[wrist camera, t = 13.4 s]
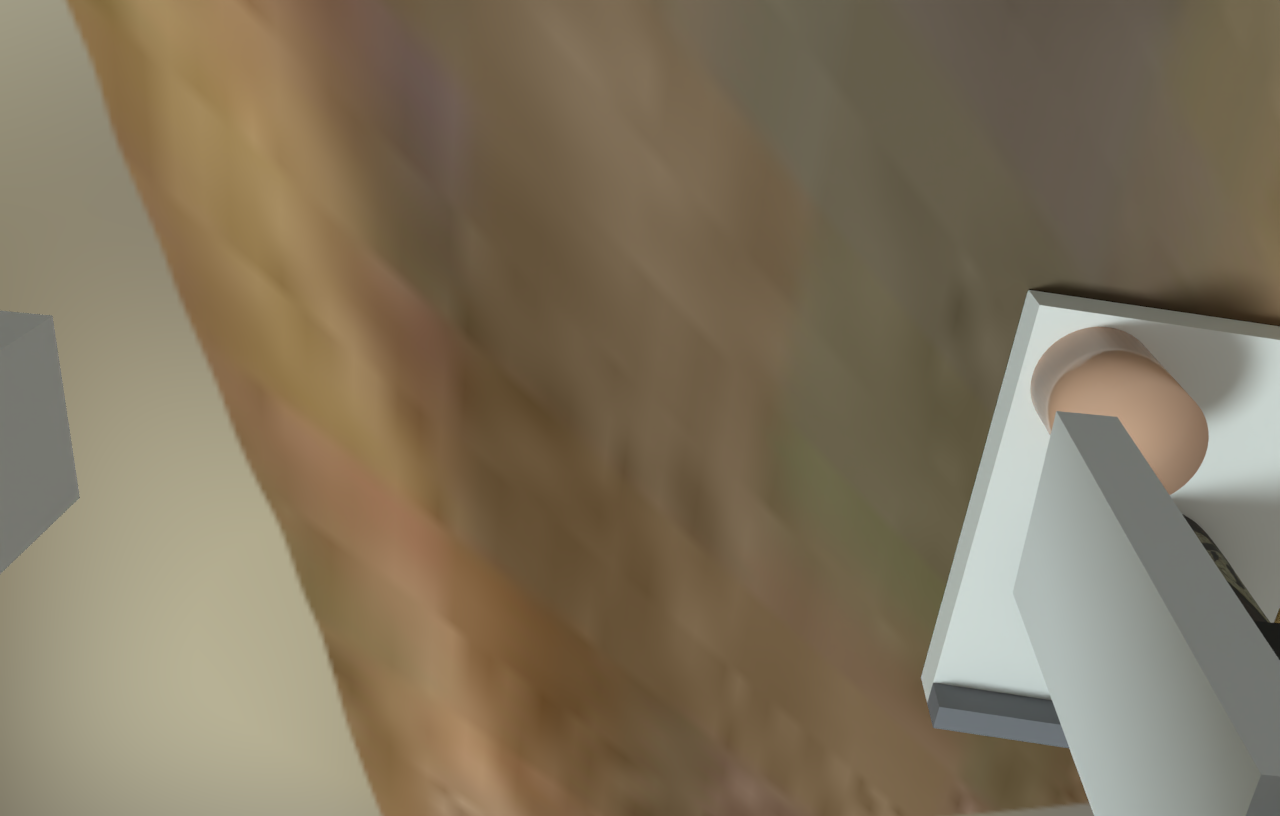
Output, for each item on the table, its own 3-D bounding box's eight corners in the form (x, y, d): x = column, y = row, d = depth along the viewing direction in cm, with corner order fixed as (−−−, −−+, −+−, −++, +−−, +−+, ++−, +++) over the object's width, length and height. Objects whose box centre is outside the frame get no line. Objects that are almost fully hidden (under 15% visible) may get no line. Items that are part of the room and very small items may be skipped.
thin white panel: (1028, 289, 50) (1050, 319, 46) (1360, 338, 50) (1407, 372, 46) (920, 679, 58) (932, 730, 55) (1205, 722, 58) (1236, 775, 54)
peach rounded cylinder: (1048, 318, 48) (1089, 373, 43) (1170, 335, 48) (1227, 393, 43) (1016, 429, 50) (1052, 495, 45) (1134, 446, 50) (1184, 514, 45)
